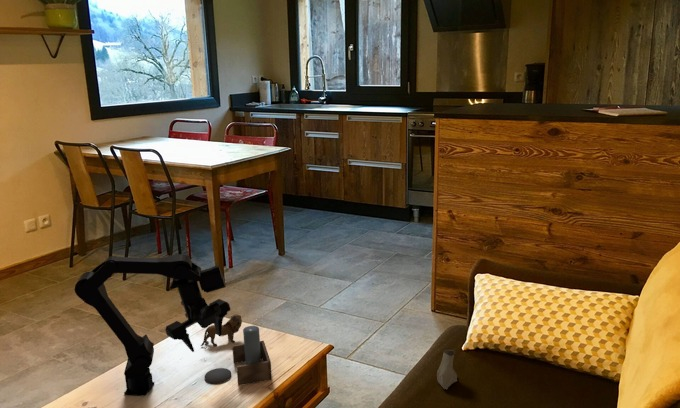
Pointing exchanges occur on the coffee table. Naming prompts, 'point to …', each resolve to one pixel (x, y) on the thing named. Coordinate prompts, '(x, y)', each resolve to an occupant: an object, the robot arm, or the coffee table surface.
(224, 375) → the coaster
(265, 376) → the crate
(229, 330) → the lion figurine
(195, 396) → the coffee table surface
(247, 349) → the grey post
